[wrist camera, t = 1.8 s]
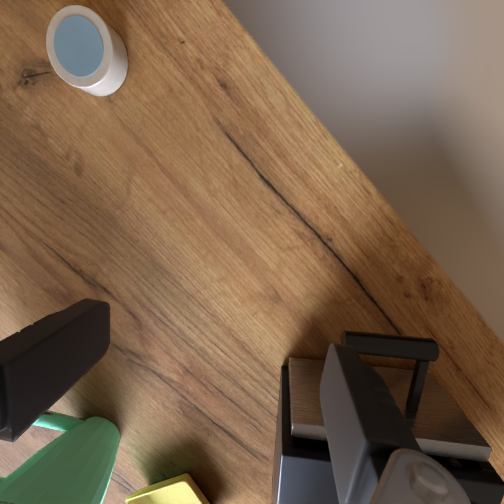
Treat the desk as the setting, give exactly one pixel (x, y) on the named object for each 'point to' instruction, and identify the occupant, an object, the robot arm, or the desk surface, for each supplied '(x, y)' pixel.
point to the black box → (322, 477)
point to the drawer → (404, 393)
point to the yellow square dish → (170, 492)
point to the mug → (66, 464)
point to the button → (86, 51)
